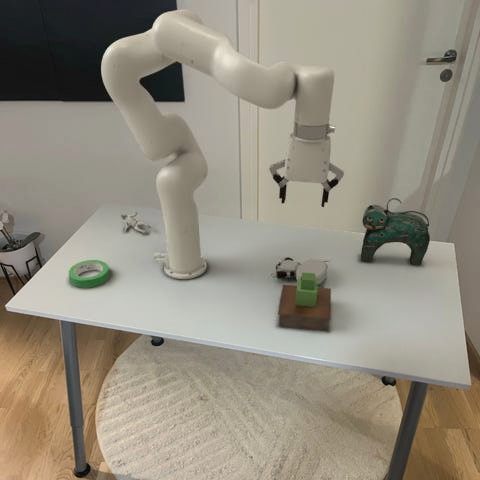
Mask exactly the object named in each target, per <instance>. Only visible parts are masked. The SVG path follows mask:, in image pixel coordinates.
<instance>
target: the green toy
mask: <svg viewBox="0 0 480 480" xmlns="http://www.w3.org/2000/svg"><path fill="white" fill-rule="evenodd" d="M296 283H297V284H296V286H297V292H296V303H295V305H299V306H310V307H316V299H317V288H318V285H319V284H318V281H315V273H303V272H302V279H301V280H298V281H297V282H296Z"/></svg>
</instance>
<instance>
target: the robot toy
mask: <svg viewBox="0 0 480 480" xmlns="http://www.w3.org/2000/svg"><path fill="white" fill-rule="evenodd" d="M330 262H331V260H330V259H327V260H320V259H314V258H309V259H306V260H304V261H303V262H298V261H295V260H294V258H291V257H286V256H284V257H282V258H281V260H280V261H279V262H278V263H277V264H276V265H275V270H276V272H272V273H270V277H271V278H272V279H275V278H276V279H277V280H280V279H281V280H282V279H285V278H286V279H288V278H292V279H293V278H296V282H298V280H301V279H302V272H303V273H315V281H318V285H320V284H321V283H323V282H324V281H325V280H326V278H327V276H328V264H327V263H330Z"/></svg>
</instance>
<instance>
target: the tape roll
mask: <svg viewBox="0 0 480 480" xmlns="http://www.w3.org/2000/svg"><path fill="white" fill-rule="evenodd" d="M89 271H98V272H99V273H97V274H95V275H90V276H79V275H81V274H82V273H84V272H89ZM68 277H69V280H70V284H72V285H73V286H74V287H77V288H81V289H87V288H89V289H90V288H94V287H95V288H96V287H98V286H101V285H103V284H104V283H106V282H108V281H109V279H110V277H111V273H110V268H109V265H108V264H107V262H104V261H102V260H99V259H88V260H87V259H86V260H82V261H79V262H77V263H75V264H74V265H72V266H71V267H70V268H69V269H68Z"/></svg>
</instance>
